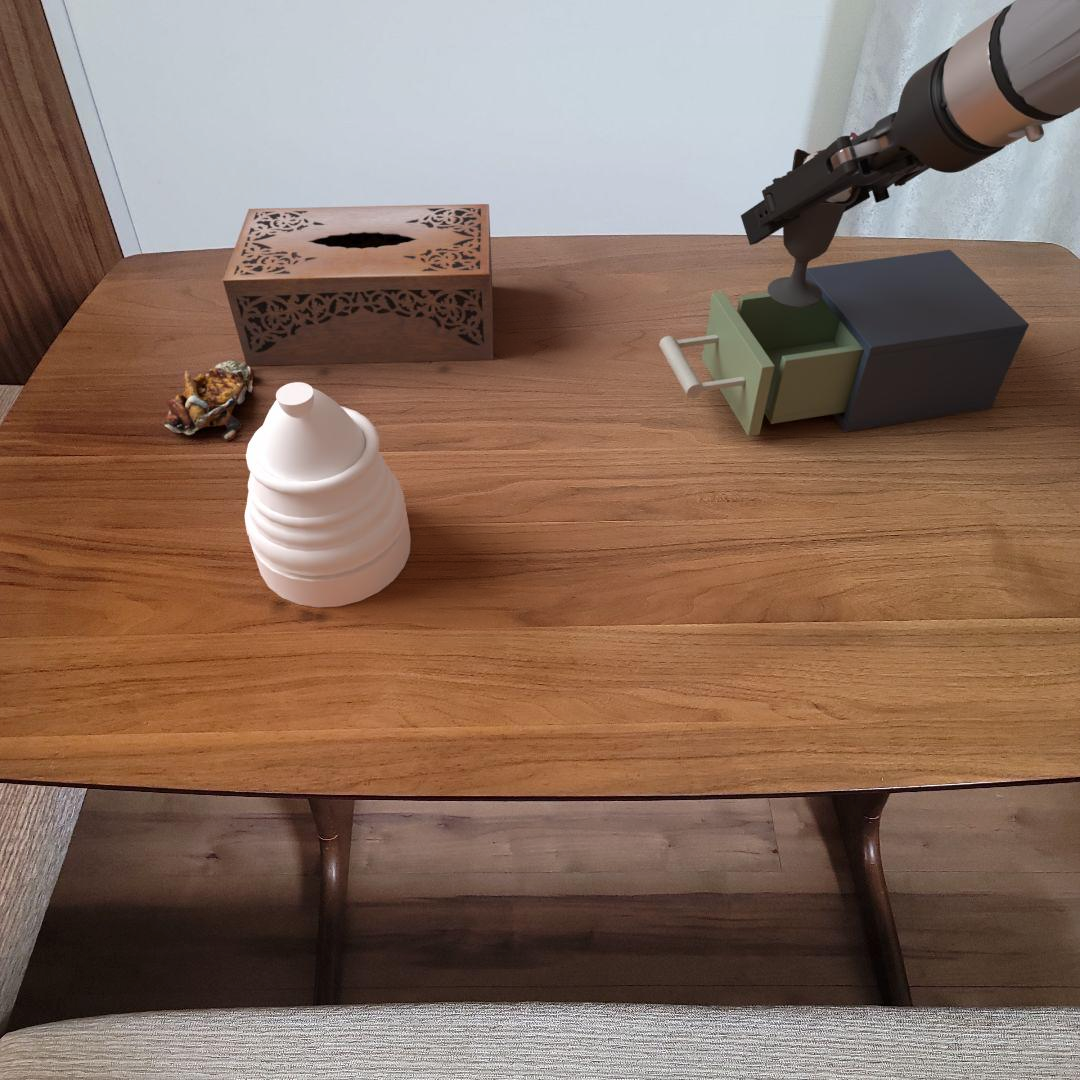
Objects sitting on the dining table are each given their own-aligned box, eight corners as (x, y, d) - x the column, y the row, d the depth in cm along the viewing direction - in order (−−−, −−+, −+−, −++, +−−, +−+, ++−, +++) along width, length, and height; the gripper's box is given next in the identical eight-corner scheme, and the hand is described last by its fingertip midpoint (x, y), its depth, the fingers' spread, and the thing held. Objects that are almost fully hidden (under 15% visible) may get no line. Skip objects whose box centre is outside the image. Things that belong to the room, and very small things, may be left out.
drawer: (689, 445, 87) (700, 376, 81) (648, 367, 95) (655, 299, 89) (889, 413, 90) (912, 345, 84) (831, 340, 98) (849, 273, 92)
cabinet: (844, 432, 89) (871, 347, 82) (786, 350, 98) (805, 268, 91) (991, 408, 92) (1029, 324, 85) (921, 331, 101) (950, 249, 94)
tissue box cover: (492, 285, 107) (488, 204, 100) (493, 359, 98) (489, 274, 90) (268, 290, 107) (248, 208, 99) (246, 365, 97) (222, 280, 90)
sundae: (834, 316, 82) (880, 147, 71) (758, 309, 83) (791, 140, 72) (830, 277, 86) (873, 112, 76) (757, 271, 87) (789, 107, 76)
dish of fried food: (262, 366, 97) (254, 337, 94) (236, 442, 88) (226, 412, 86) (195, 366, 97) (185, 337, 94) (162, 441, 88) (151, 412, 86)
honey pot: (418, 594, 75) (393, 421, 62) (257, 619, 74) (196, 447, 61) (403, 487, 84) (377, 316, 71) (258, 507, 82) (204, 336, 69)
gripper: (883, 182, 58) (704, 287, 80) (1101, 122, 64) (879, 235, 86) (848, 64, 58) (676, 203, 79) (1071, 15, 64) (855, 156, 86)
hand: (782, 219), depth 83 cm, fingers closed on sundae, 7 cm apart
